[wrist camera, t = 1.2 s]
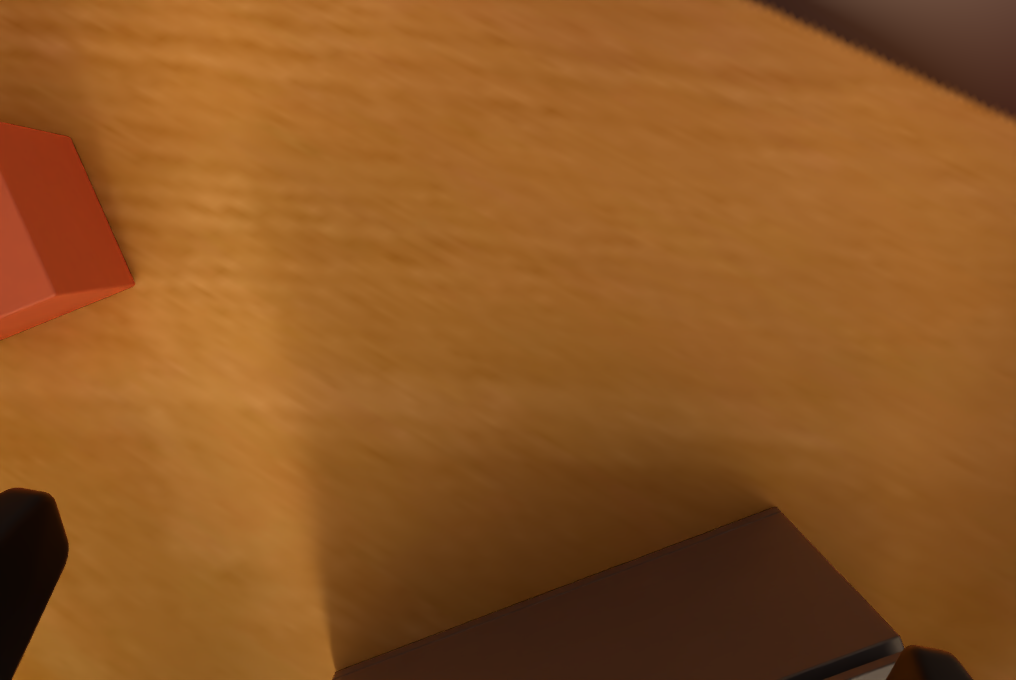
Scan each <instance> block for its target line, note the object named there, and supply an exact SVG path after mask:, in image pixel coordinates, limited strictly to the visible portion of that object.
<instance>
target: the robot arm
mask: <svg viewBox="0 0 1016 680" xmlns="http://www.w3.org/2000/svg"><path fill="white" fill-rule="evenodd" d="M68 552H69V543H68V539H67V536H66V533H65V529H64V526H63V523H62V520H61V517H60V514H59V510H58V507H57V504H56V501H55V499H54V498H53V497H52V496H51V495H50V494H49V493H46V492H42V491H36V490H30V489H24V488H11V489H8V490H6V491H4V492H2V493H0V680H12V678H13V676H14V674H15V672H16V670H17V668H18V665H19V663H20V661H21V659H22V657H23V655H24V653H25V650H26V648H27V646H28V644H29V642H30V640H31V638H32V635H33V633H34V631H35V629H36V627H37V625H38V623H39V620H40V618H41V616H42V614H43V612H44V610H45V608H46V605H47V603H48V601H49V599H50V597H51V595H52V593H53V590H54V588H55V586H56V584H57V582H58V580H59V578H60V575H61V573H62V571H63V569H64V567H65V564H66V561H67V558H68ZM886 680H973V679H972V678H971V676H970V675H969V674H968V672H967V671H966V670H965V668H964V667H963V666H962V665H961V663H960V662H959V661H958V660H957V659H956V658H955V657H954V656H953V655H952V654H951V653H949V652H947V651H944V650H940V649H934V648H928V647H923V646H917V645H910V646H908V647H906V648H904V649H903V651H902V652H901V654H900V655H899V657H898V659H897V661H896V662H895V664H894V666H893V668H892V669H891V671H890V673H889V675H888V677H887V678H886Z"/></svg>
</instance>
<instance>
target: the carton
mask: <svg viewBox="0 0 1016 680" xmlns="http://www.w3.org/2000/svg"><path fill="white" fill-rule="evenodd" d="M903 649H904V646H903V643H902V640H901V637H900V636H899V635H898V634H897V633H896V632H895V631H894V630H893V629H892V628H891V627H890V625H889V624H888V623H887V622H886V621H885V620H884V619H883V618H882V617H881V616H880V615H879V614H878V613H877V612H876V611H875V610H874V609H873V608H872V607H871V606H870V605H869V603H868V602H867V601H866V600H865V599H864V598H863V597H862V596H861V595H860V594H859V593H858V592H857V591H856V590H855V589H854V588H853V587H852V586H851V585H850V584H849V583H848V581H847V580H846V579H845V578H844V577H843V576H842V575H841V574H840V573H839V572H838V571H837V570H836V569H835V568H834V567H833V566H832V565H831V564H830V563H829V562H828V561H827V560H826V558H825V557H824V556H823V555H822V554H821V553H820V552H819V551H818V550H817V549H816V548H815V547H814V546H813V545H812V544H811V543H810V542H809V541H808V540H807V539H806V538H805V536H804V535H803V534H802V533H801V532H800V531H799V530H798V529H797V528H796V527H795V526H794V525H793V524H792V523H791V522H790V521H789V520H788V519H787V518H786V517H785V516H784V514H783V513H782V512H781V511H780V510H779V509H778V508H777V507H773V508H771V509H768V510H765V511H763V512H760V513H757V514H755V515H752V516H749V517H747V518H744V519H742V520H739V521H736V522H734V523H731V524H728V525H726V526H723V527H720V528H718V529H715V530H712V531H710V532H707V533H704V534H702V535H699V536H696V537H694V538H691V539H688V540H686V541H683V542H680V543H678V544H675V545H672V546H670V547H667V548H664V549H662V550H659V551H656V552H654V553H651V554H648V555H646V556H643V557H640V558H638V559H635V560H632V561H630V562H627V563H624V564H622V565H619V566H616V567H614V568H611V569H608V570H606V571H603V572H600V573H598V574H595V575H592V576H590V577H587V578H584V579H582V580H579V581H576V582H574V583H571V584H568V585H566V586H563V587H560V588H558V589H555V590H552V591H550V592H547V593H544V594H542V595H539V596H537V597H534V598H531V599H529V600H526V601H523V602H521V603H518V604H515V605H513V606H510V607H507V608H505V609H502V610H499V611H497V612H494V613H491V614H489V615H486V616H483V617H481V618H478V619H475V620H473V621H470V622H467V623H465V624H462V625H459V626H457V627H454V628H451V629H449V630H446V631H443V632H441V633H438V634H435V635H433V636H430V637H427V638H425V639H422V640H419V641H417V642H414V643H411V644H409V645H406V646H403V647H401V648H398V649H395V650H393V651H390V652H387V653H385V654H382V655H379V656H377V657H374V658H371V659H369V660H366V661H363V662H361V663H358V664H355V665H353V666H350V667H347V668H345V669H342V670H340V671H337V672H335V675H334V677H333V680H886V678H887V677H888V675H889V673H890V671H891V669H892V668H893V666H894V664H895V662H896V661H897V659H898V657H899V655H900V654H901V652H902V651H903Z"/></svg>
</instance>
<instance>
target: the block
mask: <svg viewBox="0 0 1016 680" xmlns="http://www.w3.org/2000/svg"><path fill="white" fill-rule="evenodd" d="M134 285H135V282H134V280H133V278H132V276H131V273H130V271H129V269H128V267H127V264H126V262H125V260H124V258H123V255H122V253H121V251H120V249H119V246H118V244H117V242H116V240H115V237H114V235H113V233H112V230H111V228H110V226H109V224H108V221H107V219H106V217H105V215H104V212H103V210H102V208H101V206H100V203H99V201H98V199H97V197H96V194H95V192H94V190H93V188H92V185H91V183H90V181H89V179H88V176H87V174H86V172H85V170H84V167H83V165H82V163H81V161H80V158H79V156H78V154H77V151H76V149H75V147H74V145H73V142H72V140H71V138H70V137H68V136H64V135H59V134H54V133H50V132H45V131H41V130H36V129H32V128H27V127H22V126H18V125H13V124H9V123H4V122H0V340H2V339H5V338H7V337H10V336H12V335H15V334H17V333H20V332H22V331H25V330H27V329H29V328H32V327H34V326H37V325H39V324H42V323H44V322H47V321H49V320H52V319H54V318H57V317H59V316H62V315H64V314H66V313H69V312H71V311H74V310H76V309H79V308H81V307H84V306H86V305H89V304H91V303H94V302H96V301H99V300H101V299H104V298H106V297H108V296H111V295H113V294H116V293H118V292H121V291H123V290H126V289H128V288H131V287H133V286H134Z"/></svg>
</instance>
